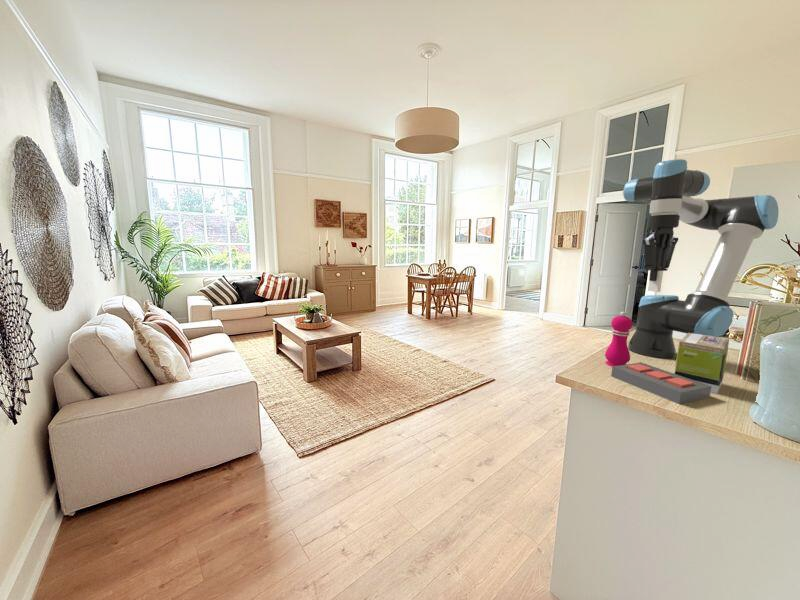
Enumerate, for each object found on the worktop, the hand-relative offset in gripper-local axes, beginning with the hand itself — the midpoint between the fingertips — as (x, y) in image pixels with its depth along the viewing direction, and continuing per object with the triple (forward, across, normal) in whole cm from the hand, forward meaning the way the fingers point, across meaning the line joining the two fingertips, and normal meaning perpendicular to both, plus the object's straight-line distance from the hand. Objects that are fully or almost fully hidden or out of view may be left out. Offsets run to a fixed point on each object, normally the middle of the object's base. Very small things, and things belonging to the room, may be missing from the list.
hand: (654, 291), depth 105 cm
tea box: (+28, -6, +12) cm, 31 cm away
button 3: (+26, +10, +16) cm, 32 cm away
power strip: (+27, +10, +7) cm, 30 cm away
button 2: (+26, +10, +10) cm, 30 cm away
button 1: (+26, +10, +5) cm, 28 cm away
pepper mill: (+28, +5, -6) cm, 29 cm away
